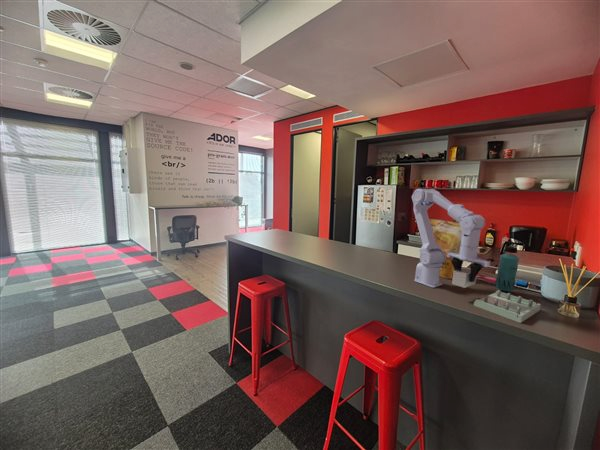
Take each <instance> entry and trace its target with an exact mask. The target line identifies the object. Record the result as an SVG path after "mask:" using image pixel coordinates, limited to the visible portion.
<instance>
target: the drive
mask: <svg viewBox="0 0 600 450" xmlns="http://www.w3.org/2000/svg"><path fill="white" fill-rule="evenodd" d="M470 275H471V267H470V268H469V267H461V269H457V270H454V271H453V279H451V280H452V281H451V284H452V285H453V286H454V285H455V286H457V287H460V288H463V289H465V288H467V287H471V286H473V285H476V284H477V280H478V279H477V276H476V278H475V280H474V282H470Z"/></svg>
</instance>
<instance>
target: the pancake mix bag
mask: <svg viewBox="0 0 600 450" xmlns="http://www.w3.org/2000/svg"><path fill="white" fill-rule="evenodd" d="M429 220H430V224H431V227H432V231H433V234H434V238H435V242H436V243H437V244H438V245H439V246H440V247H441V249H442V251H443V252H444V253H445V256H446V259H445V262H444V263H442V266H441V267H440V276H439V278H441V279H446V280H447V279H450V280H453V272H454V267H453V264H452V262H451V260H453V258H448V257H447V254H448V253H449V252H451V253H457V254H459V253H460V246H461V239H462V228H461V226H460V223H459V222H457V221H449V220H444V219H435V218H429ZM422 246H423V244H422V243H421V247H422Z"/></svg>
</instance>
